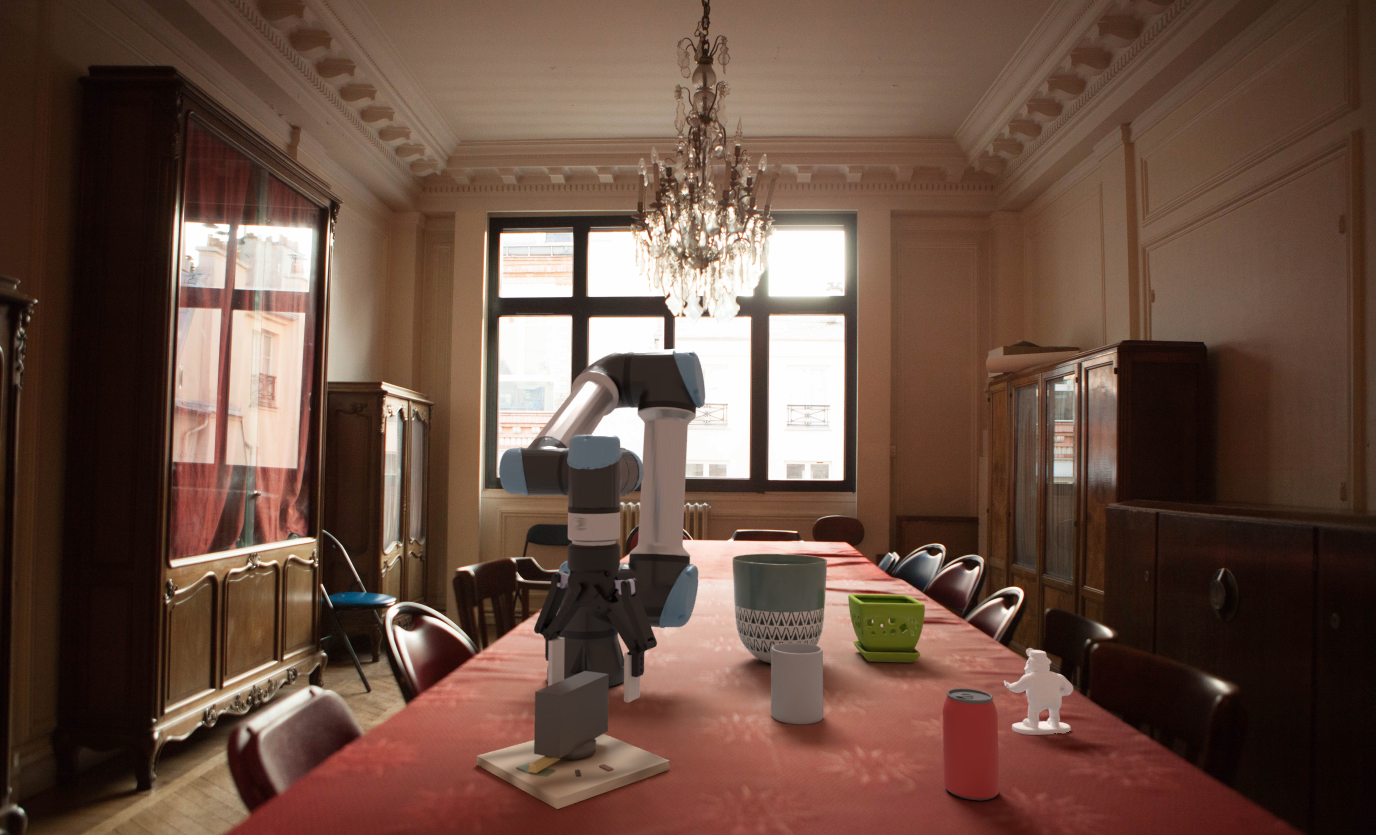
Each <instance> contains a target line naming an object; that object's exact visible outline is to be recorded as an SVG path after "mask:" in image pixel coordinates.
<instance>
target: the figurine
mask: <svg viewBox="0 0 1376 835" xmlns="http://www.w3.org/2000/svg"><path fill="white" fill-rule="evenodd" d="M1025 653H1026V656H1027V657H1028V659H1027V660H1026V663H1025V667H1023V669H1024V672H1025V673H1024V674H1023V675H1022V676H1021V677H1020V679H1018V681H1015V682H1012V683H1010V682H1008V681H1007V680H1003V684H1004V687H1005V688H1007V689H1008V690H1009V691H1010V692H1012V693H1016V694H1020V693H1023V692H1025V696H1026V697H1027V703H1028V707H1027V718H1024V719H1023V720H1022V721H1021V722H1015V723H1013V724H1012V725H1011V730H1012V731H1013V732H1015V733H1018V734H1021V735H1030V736H1031V735H1032V736H1035V735H1039V736H1041V735H1058V734H1057V733H1062V734H1067V733H1066V732H1069V731H1072V728H1071V725H1070V724H1068V723H1065V722H1063V721H1062V722H1061V718H1060V708H1061V707H1062V702H1063V700H1062V698H1063V697H1064V696H1065V697H1066V696H1067V697H1069V695H1071V694H1072V693H1073V691H1074V686H1073V684H1072V683H1071V682H1070V681H1069V680H1068V679H1067V678H1066V676H1064V675H1062V674H1061V673H1057V672H1054V671H1051V670H1050V668H1051V666H1050V665H1051V664H1052V661H1051V659H1050V658H1049V657H1048V656H1047V652H1046V651H1045V650H1044V651H1043V650H1040V649H1034V648H1031V647H1029V648H1026V650H1025ZM1045 710H1048V712H1049V717H1048V718H1047V720H1046V721H1045V720H1042V721H1041V720H1040V716H1039V715H1040V713H1042V712H1043V711H1045ZM1054 733H1056V734H1054ZM1069 733H1070V732H1069Z"/></svg>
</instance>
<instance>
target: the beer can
mask: <svg viewBox="0 0 1376 835" xmlns="http://www.w3.org/2000/svg"><path fill="white" fill-rule="evenodd" d="M998 716H999V715H998V710H997V707H996V704H995V702H994V696H993V695H992V694H990V693H989V692H987V691H983V690H980V689H975V688H974V689H973V688H966V687H965V688H964V687H963V688H960V687H959V688H952V689H948V691H946V698H945V700H944V703H943V708H942V753H943V754H942V756H943V757H942V759H943V760H942V761H943V762H942V764H943V765H942V766H943V768H942V769H943V773H942V774H943V786H944V788H945V789H946V790H947V792H949V793H951V794H952V795H953V796H956V797H959V798H960V799H965V800H971V801H988V800H991V799H994V798H995V797H996V796H998V795H999V793H1000V781H999V778H1000V776H999V772H1000V771H999V770H1000V769H999V723H998V722H999V719H998V718H999V717H998Z"/></svg>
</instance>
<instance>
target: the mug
mask: <svg viewBox="0 0 1376 835" xmlns="http://www.w3.org/2000/svg"><path fill="white" fill-rule="evenodd" d="M770 669H771V670H770V673H771V674H770V678H771V679H770V684H771V686H770V689H771V690H770V693H771V694H770V715H771V717H772V718H773V719H774V720H776V721H778V722H780V723H786V724H790V725H810V724H815V723H816V724H817V723H819V722H821V721H822V720H823V718H824V651H823V648H822V647H820V646H819V645H812V644H806V643H781V644H776V645H774V646H772V648H771V663H770Z"/></svg>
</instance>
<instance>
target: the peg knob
mask: <svg viewBox="0 0 1376 835" xmlns="http://www.w3.org/2000/svg"><path fill="white" fill-rule="evenodd" d="M608 686H609V674H604V673H597V672H590V671H584V672H581V673H579V674H576V675H574V676H572V677H569V678H567V679H564V680H562V681H560V682H557V683H555V684H552V685H550V686H548V685H547V686H545V687H543V688H540V689H538V690H535V693H534V694H535V696H534V732H533V733H534V739H533V740H534V754H538V755H543V756H544V757H542V758H540V759H538V760H537V761H535V762H533V763H531V764H529V771H530V772H534V773H537V772H539V771H541V770H542V769H544V768H546V767H548V766H549V765H551V764H553V763H555V762H556V761H558V760H560V759H566V760H573V759H581V758H586V757H589V756H591V755H593V754H594V753H595V752H596V740H595V738H597V737H599V736H600V735H602V734H605V733H607V732H609V687H608Z"/></svg>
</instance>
